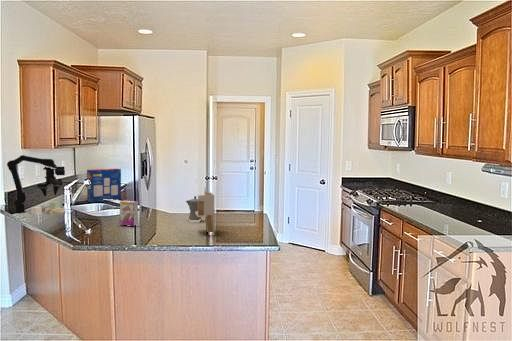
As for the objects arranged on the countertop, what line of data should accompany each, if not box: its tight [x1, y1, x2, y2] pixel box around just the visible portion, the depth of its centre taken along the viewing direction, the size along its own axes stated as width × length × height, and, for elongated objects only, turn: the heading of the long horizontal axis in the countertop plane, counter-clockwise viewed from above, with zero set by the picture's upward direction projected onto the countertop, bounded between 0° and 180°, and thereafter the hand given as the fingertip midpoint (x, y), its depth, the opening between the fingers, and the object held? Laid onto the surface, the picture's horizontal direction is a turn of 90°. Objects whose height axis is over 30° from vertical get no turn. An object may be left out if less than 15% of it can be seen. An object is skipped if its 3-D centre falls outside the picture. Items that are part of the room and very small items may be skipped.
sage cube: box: [49, 200, 61, 209], centre depth 318 cm, size 5×5×5 cm
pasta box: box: [86, 168, 122, 203], centre depth 384 cm, size 28×8×28 cm, turn 135°
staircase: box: [195, 188, 216, 234], centre depth 265 cm, size 10×16×29 cm, turn 15°
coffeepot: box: [185, 195, 202, 220], centre depth 300 cm, size 15×9×18 cm, turn 107°
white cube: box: [30, 206, 43, 216], centre depth 315 cm, size 5×5×5 cm
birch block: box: [44, 206, 65, 216], centre depth 319 cm, size 10×10×4 cm
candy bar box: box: [119, 200, 139, 226], centre depth 280 cm, size 11×5×16 cm, turn 71°
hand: (50, 195), depth 325 cm, fingers open, 9 cm apart
